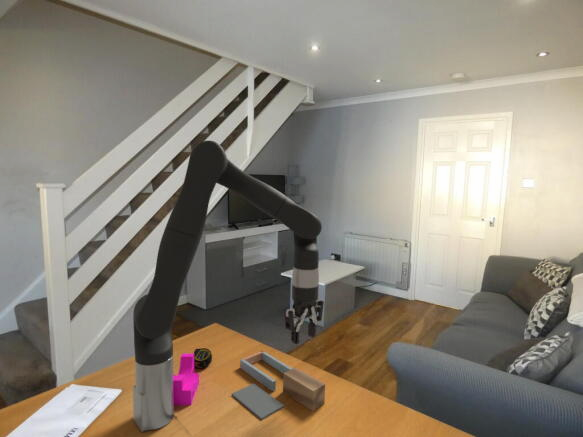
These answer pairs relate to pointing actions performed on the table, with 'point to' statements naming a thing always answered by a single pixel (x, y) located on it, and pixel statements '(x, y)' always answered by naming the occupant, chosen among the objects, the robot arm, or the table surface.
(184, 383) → the toy block
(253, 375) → the channel
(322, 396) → the block
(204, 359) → the tape measure
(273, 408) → the mat
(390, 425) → the table surface
